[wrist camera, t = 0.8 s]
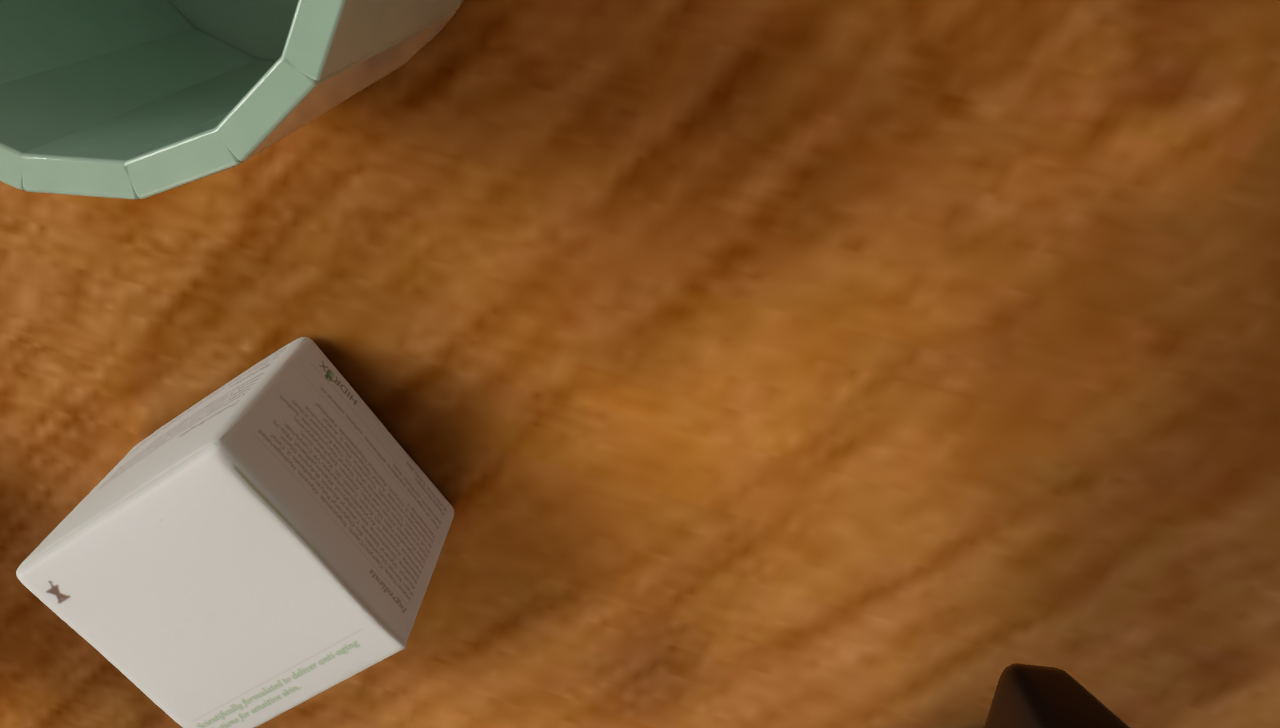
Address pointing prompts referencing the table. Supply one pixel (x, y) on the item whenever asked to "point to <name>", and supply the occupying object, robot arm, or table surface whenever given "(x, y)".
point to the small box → (250, 547)
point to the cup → (182, 82)
